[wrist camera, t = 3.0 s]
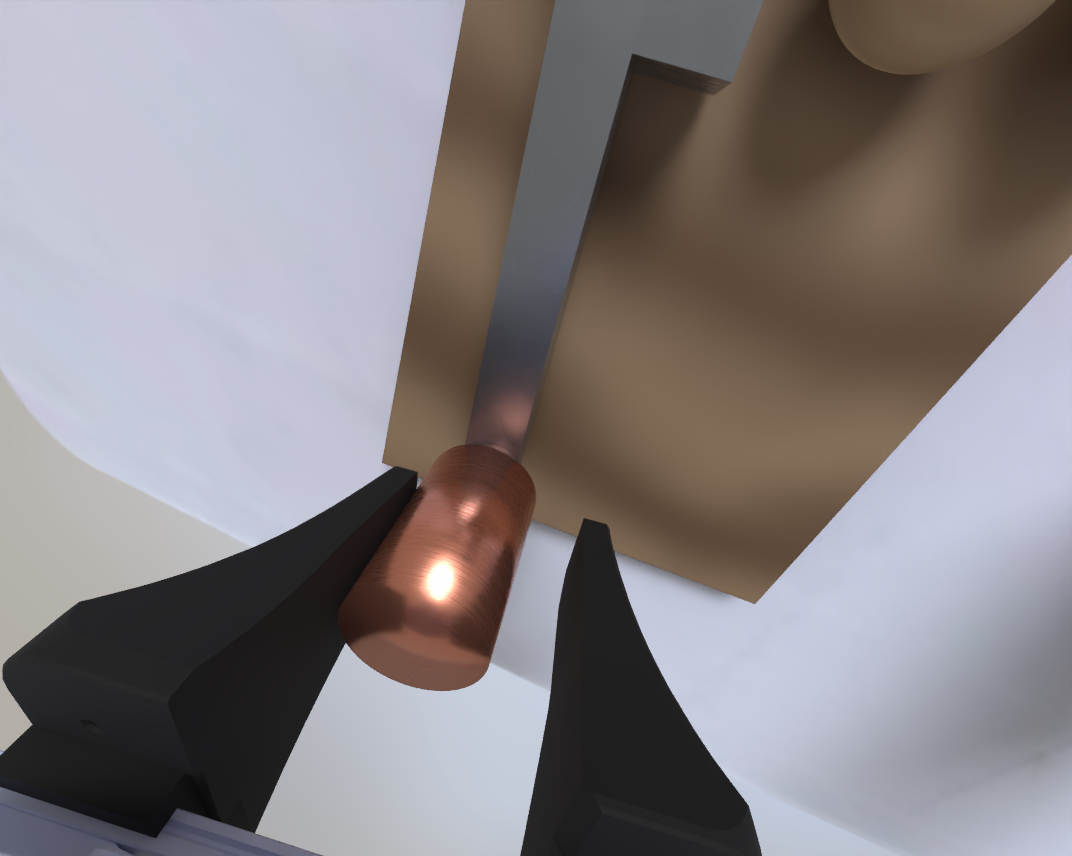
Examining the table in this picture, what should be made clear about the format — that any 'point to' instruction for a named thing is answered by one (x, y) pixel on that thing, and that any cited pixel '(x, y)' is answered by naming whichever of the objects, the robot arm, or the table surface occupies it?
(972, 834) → the table surface
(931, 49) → the walnut
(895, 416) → the board
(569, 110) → the lever
